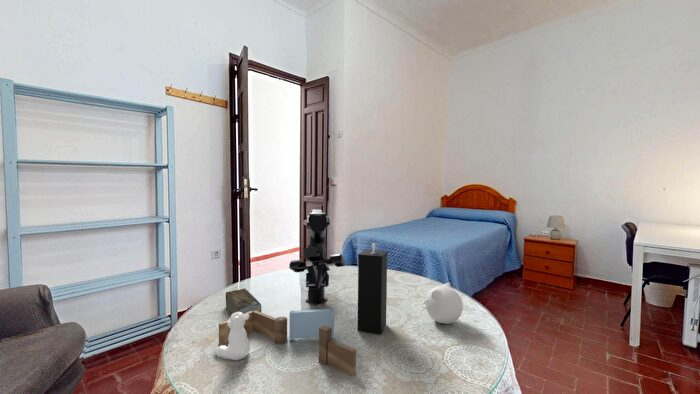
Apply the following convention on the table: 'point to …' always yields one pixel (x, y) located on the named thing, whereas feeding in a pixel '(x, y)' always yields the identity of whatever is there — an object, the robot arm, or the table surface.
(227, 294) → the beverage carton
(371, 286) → the black pillar candle
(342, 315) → the table surface
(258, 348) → the table surface
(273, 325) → the pen fence
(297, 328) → the gate
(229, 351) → the sitting furry creature
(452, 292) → the cat head
